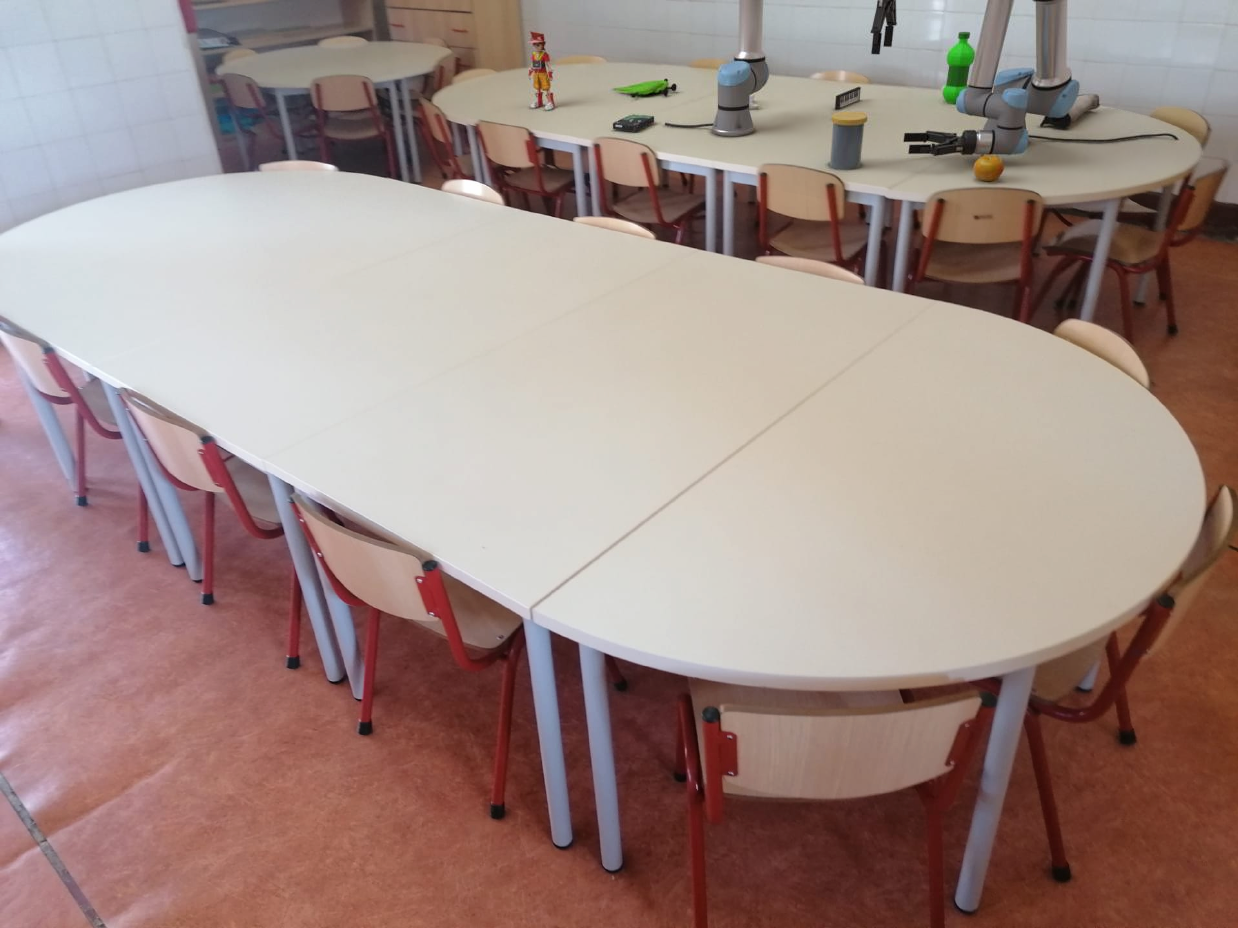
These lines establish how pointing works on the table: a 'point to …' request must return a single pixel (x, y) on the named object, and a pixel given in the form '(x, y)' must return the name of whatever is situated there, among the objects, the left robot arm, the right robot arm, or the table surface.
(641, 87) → the toy
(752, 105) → the anatomical model
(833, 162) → the jar
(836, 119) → the lid
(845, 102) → the midi keyboard
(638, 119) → the disk drive
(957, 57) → the plastic bottle
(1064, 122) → the rolled mat
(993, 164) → the fruit
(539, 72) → the toy
